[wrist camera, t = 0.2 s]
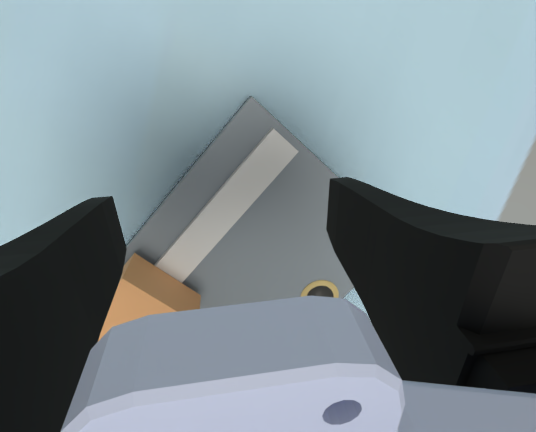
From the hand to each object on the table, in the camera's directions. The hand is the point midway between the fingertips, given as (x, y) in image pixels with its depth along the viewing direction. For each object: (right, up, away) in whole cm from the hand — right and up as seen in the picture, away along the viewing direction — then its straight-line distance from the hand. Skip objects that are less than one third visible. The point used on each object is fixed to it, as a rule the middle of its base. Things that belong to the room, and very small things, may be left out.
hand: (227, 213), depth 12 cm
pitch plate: (-1, -4, +13) cm, 13 cm away
